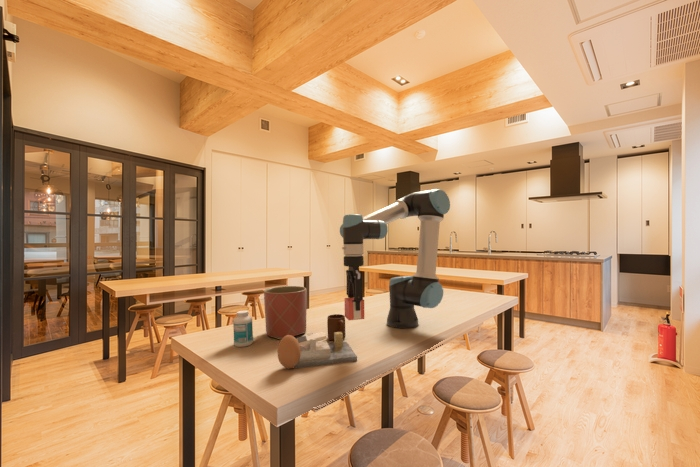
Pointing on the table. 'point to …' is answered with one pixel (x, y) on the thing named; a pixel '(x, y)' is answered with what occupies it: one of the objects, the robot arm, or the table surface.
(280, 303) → the planter
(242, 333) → the pill bottle
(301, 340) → the rocker
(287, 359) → the egg
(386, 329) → the table surface
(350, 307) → the red block
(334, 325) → the mug
